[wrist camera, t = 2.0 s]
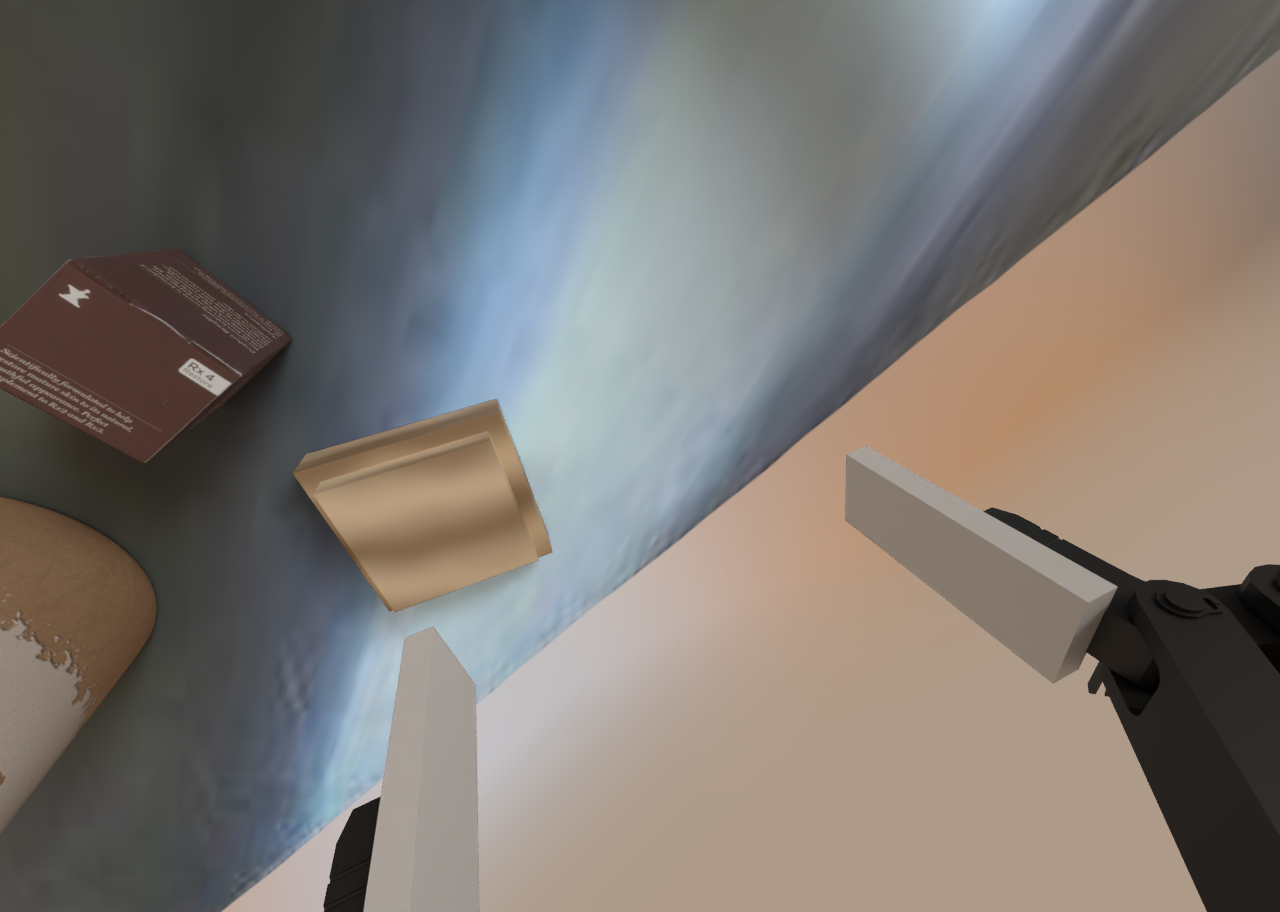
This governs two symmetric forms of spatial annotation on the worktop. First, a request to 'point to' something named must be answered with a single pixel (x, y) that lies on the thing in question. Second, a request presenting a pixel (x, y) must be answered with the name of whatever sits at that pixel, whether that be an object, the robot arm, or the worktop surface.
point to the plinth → (429, 504)
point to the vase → (59, 636)
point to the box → (134, 348)
